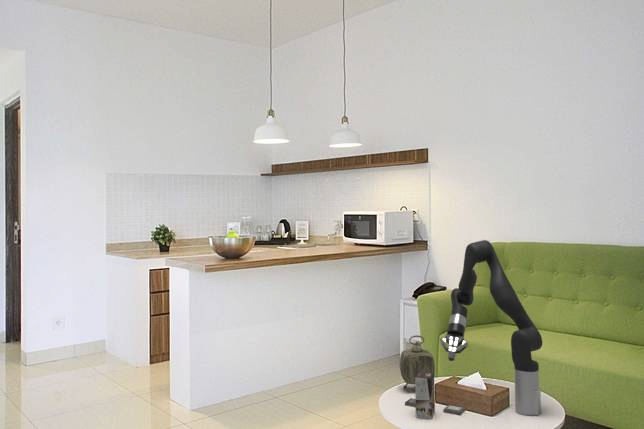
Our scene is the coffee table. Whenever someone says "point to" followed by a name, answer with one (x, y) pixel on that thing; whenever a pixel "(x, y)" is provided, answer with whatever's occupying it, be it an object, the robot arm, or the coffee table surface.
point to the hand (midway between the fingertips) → (450, 360)
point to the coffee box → (425, 395)
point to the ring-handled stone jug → (415, 362)
